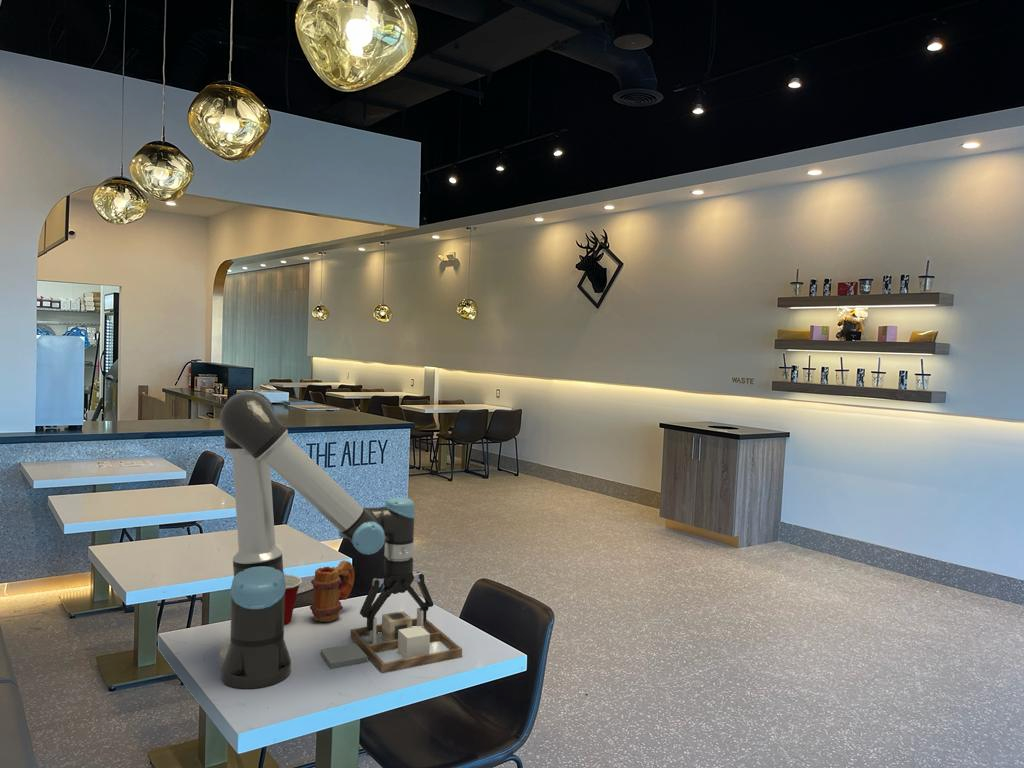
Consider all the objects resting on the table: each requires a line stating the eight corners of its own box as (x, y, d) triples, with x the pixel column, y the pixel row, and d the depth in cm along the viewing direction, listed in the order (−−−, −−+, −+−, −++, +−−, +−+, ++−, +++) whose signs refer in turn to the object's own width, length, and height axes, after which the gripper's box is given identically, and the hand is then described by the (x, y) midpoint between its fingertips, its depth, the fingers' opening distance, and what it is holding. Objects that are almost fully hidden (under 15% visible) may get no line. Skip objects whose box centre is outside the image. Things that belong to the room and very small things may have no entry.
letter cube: (389, 645, 184) (390, 621, 184) (381, 636, 190) (382, 614, 189) (411, 641, 187) (412, 618, 187) (402, 632, 193) (403, 610, 192)
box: (381, 673, 168) (382, 664, 168) (350, 636, 188) (350, 629, 188) (461, 656, 178) (462, 648, 178) (423, 624, 199) (424, 617, 199)
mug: (323, 627, 194) (324, 573, 193) (302, 620, 198) (304, 567, 198) (361, 612, 206) (363, 561, 206) (341, 606, 211) (343, 556, 210)
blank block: (406, 662, 174) (407, 638, 174) (397, 653, 180) (398, 629, 179) (429, 657, 177) (429, 634, 177) (419, 648, 183) (420, 625, 182)
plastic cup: (288, 631, 190) (289, 587, 190) (251, 627, 193) (252, 583, 192) (308, 617, 201) (309, 575, 201) (273, 613, 203) (274, 571, 203)
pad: (330, 668, 169) (330, 663, 169) (320, 654, 177) (320, 649, 177) (367, 661, 174) (367, 656, 174) (355, 647, 182) (355, 643, 181)
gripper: (358, 566, 178) (355, 651, 179) (447, 555, 191) (444, 634, 191) (348, 559, 185) (346, 640, 185) (435, 548, 197) (433, 625, 198)
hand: (396, 637), depth 188 cm, fingers open, 12 cm apart
